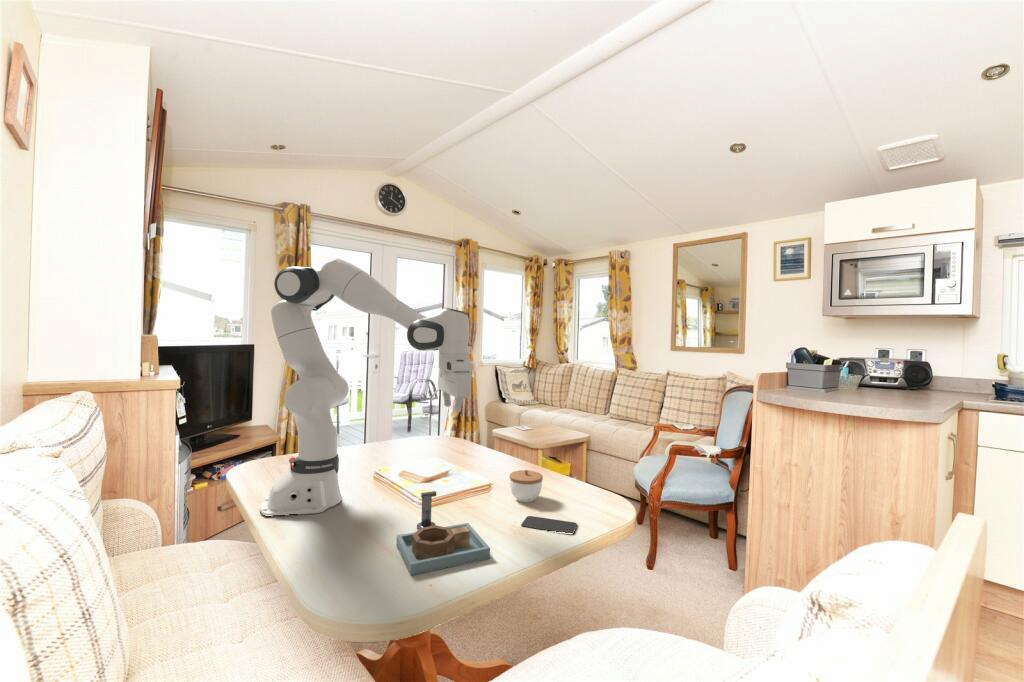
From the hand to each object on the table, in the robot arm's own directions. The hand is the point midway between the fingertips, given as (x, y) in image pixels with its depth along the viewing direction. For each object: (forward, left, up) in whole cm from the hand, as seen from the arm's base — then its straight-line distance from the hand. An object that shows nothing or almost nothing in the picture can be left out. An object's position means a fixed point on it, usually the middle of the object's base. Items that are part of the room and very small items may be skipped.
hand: (452, 408), depth 134 cm
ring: (-10, -24, -30) cm, 39 cm away
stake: (-10, -9, -30) cm, 33 cm away
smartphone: (+22, -21, -31) cm, 44 cm away
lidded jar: (+25, -1, -31) cm, 40 cm away
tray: (-10, -24, -30) cm, 40 cm away
